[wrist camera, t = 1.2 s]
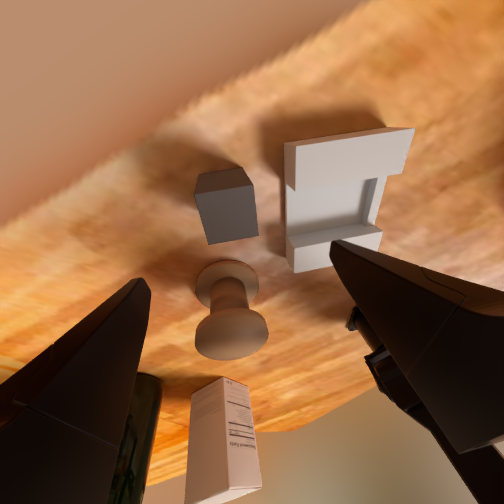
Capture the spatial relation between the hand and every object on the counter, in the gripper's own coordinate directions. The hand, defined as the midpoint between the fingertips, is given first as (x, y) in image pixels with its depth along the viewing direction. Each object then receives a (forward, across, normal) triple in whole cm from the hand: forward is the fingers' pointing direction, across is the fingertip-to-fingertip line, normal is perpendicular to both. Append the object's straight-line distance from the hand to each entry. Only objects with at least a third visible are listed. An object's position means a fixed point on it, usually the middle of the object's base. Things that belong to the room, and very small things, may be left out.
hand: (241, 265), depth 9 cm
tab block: (+12, 0, 0) cm, 12 cm away
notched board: (+12, -11, +3) cm, 16 cm away
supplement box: (+12, +9, +42) cm, 45 cm away
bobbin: (+12, +2, +12) cm, 17 cm away
